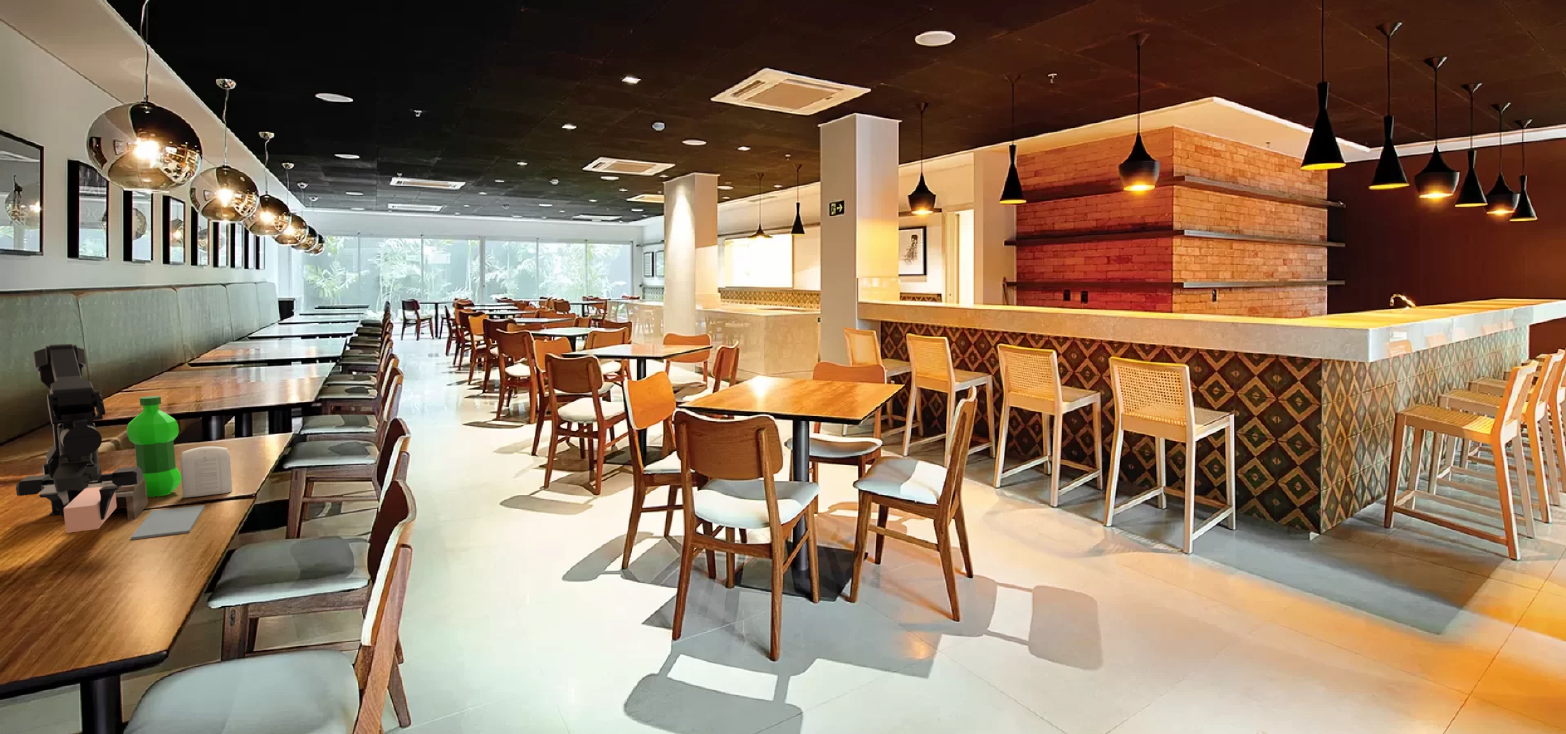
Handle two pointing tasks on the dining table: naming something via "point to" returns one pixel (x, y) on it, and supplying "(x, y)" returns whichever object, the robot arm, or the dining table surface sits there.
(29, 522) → the dining table surface
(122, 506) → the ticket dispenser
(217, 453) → the white arched slab
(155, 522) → the slate mat
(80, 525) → the block
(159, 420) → the plastic bottle
